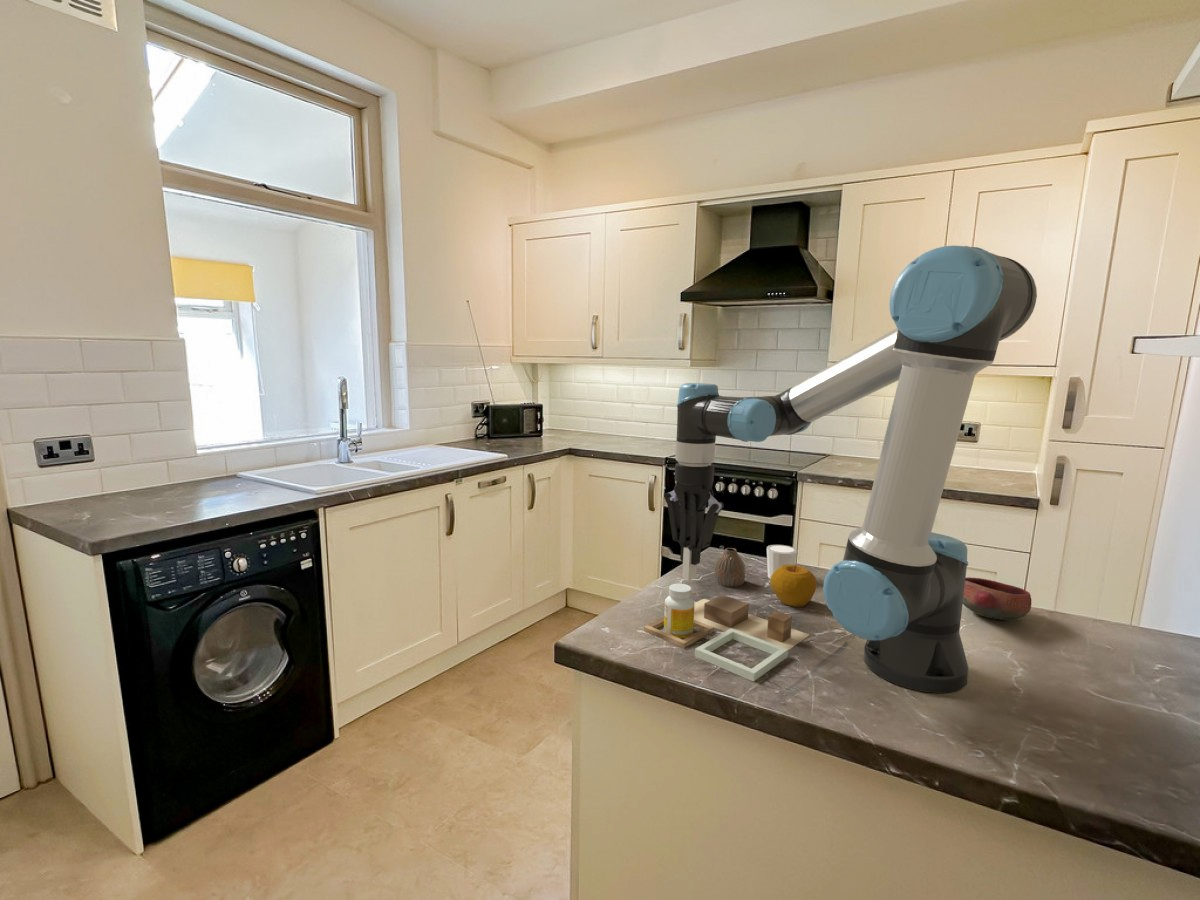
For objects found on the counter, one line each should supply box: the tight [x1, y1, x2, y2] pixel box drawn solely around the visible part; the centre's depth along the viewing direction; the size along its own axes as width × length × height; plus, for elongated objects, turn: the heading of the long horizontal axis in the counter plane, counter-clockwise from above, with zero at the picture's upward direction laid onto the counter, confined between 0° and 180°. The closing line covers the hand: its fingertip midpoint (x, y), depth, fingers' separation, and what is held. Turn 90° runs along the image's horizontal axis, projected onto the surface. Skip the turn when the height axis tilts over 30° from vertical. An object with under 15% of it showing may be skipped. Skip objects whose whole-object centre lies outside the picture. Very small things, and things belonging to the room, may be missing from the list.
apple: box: [769, 564, 817, 608], centre depth 121 cm, size 9×9×9 cm
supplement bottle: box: [663, 583, 696, 639], centre depth 107 cm, size 5×5×10 cm
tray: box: [694, 628, 789, 682], centre depth 98 cm, size 11×11×2 cm
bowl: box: [962, 576, 1032, 621], centre depth 116 cm, size 16×13×8 cm
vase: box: [713, 547, 747, 588], centre depth 131 cm, size 7×7×9 cm
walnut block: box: [704, 594, 750, 628], centre depth 113 cm, size 6×6×3 cm
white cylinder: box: [766, 544, 798, 579], centre depth 138 cm, size 7×7×7 cm
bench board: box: [694, 598, 811, 651], centre depth 111 cm, size 23×10×5 cm, turn 45°
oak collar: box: [643, 616, 715, 649], centre depth 107 cm, size 9×9×2 cm
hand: (689, 578), depth 118 cm, fingers closed
